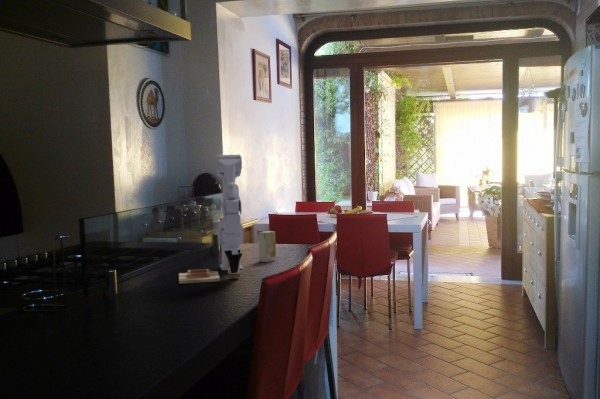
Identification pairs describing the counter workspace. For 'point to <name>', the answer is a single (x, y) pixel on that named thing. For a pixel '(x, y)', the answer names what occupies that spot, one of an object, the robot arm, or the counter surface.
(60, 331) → the counter surface
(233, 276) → the sleeve
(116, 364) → the counter surface
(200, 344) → the counter surface
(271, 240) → the skincare box
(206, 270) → the holder
